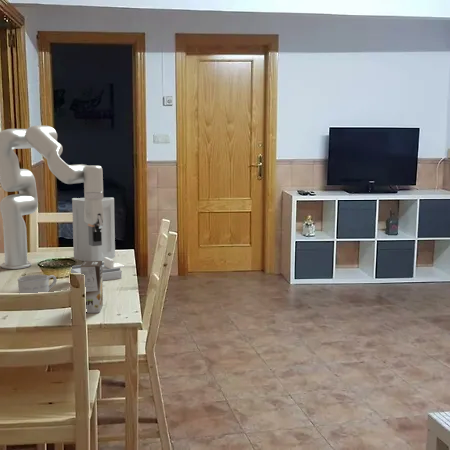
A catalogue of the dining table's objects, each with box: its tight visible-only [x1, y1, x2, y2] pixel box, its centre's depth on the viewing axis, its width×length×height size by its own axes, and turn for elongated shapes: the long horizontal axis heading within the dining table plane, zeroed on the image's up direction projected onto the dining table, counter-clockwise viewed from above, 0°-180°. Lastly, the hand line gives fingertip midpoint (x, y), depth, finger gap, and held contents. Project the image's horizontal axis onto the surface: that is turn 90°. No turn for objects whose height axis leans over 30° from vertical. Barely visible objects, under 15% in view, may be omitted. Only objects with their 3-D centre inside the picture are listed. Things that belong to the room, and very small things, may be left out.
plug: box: [88, 223, 102, 246], centre depth 258 cm, size 4×4×9 cm
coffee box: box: [80, 261, 104, 314], centre depth 215 cm, size 9×6×16 cm
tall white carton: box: [71, 197, 116, 262], centre depth 292 cm, size 19×15×28 cm
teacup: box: [17, 274, 57, 294], centre depth 229 cm, size 14×11×8 cm
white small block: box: [103, 257, 126, 269], centre depth 265 cm, size 7×6×4 cm
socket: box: [71, 261, 122, 281], centre depth 261 cm, size 16×16×4 cm
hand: (95, 240), depth 259 cm, fingers closed on plug, 4 cm apart
